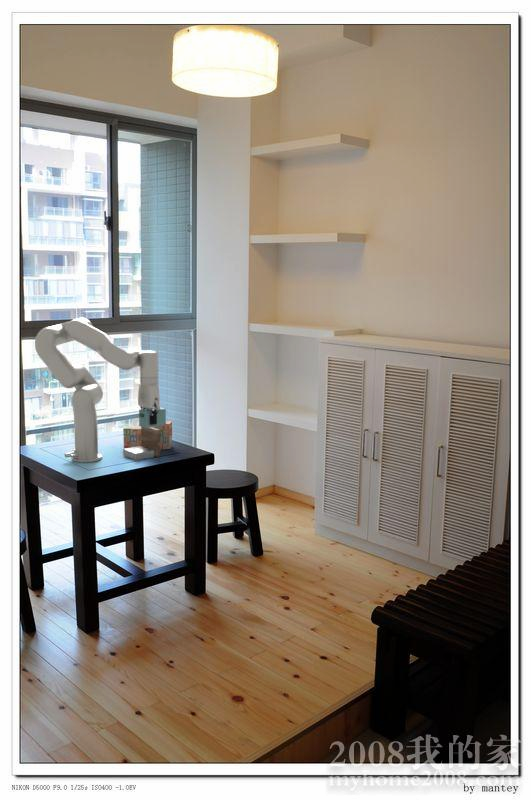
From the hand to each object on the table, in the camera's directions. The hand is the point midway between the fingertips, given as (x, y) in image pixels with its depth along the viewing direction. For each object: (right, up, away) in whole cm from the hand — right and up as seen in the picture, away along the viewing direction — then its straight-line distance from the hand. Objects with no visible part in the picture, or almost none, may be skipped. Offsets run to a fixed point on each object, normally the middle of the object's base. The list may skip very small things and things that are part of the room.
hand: (149, 422), depth 315 cm
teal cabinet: (+1, -1, +1) cm, 2 cm away
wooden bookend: (-6, -15, +13) cm, 21 cm away
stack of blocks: (-5, -12, +28) cm, 31 cm away
